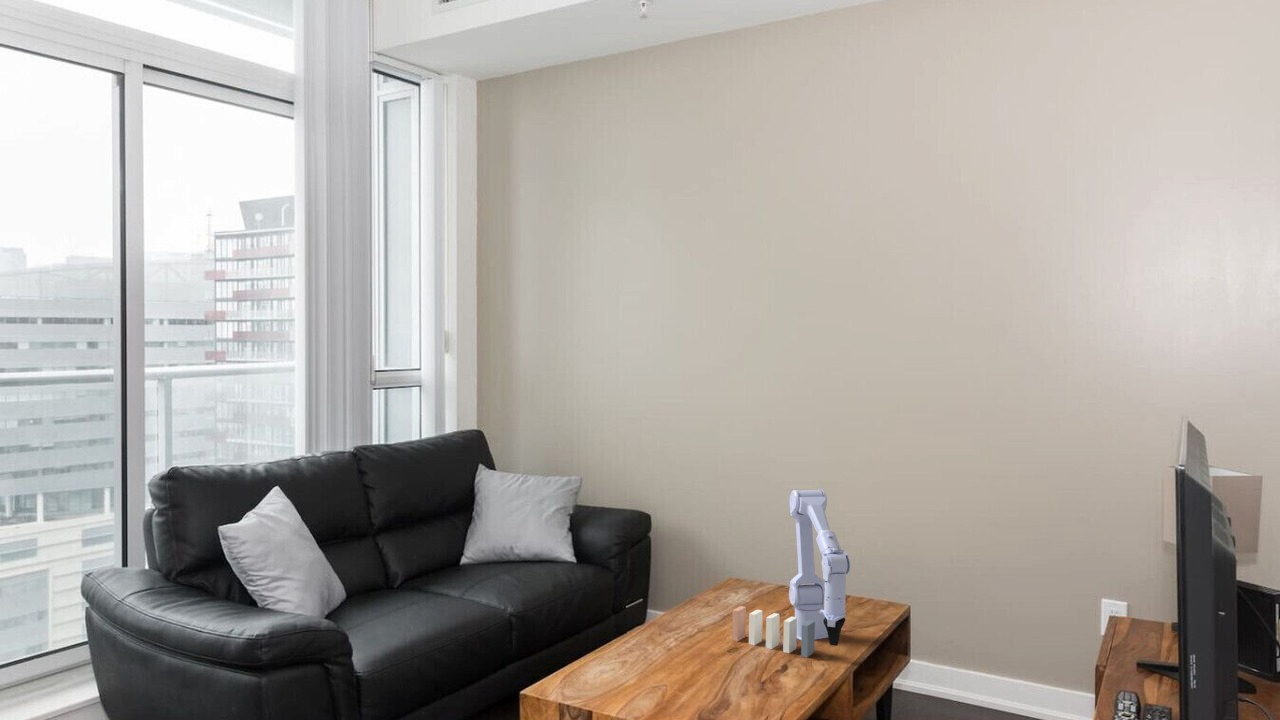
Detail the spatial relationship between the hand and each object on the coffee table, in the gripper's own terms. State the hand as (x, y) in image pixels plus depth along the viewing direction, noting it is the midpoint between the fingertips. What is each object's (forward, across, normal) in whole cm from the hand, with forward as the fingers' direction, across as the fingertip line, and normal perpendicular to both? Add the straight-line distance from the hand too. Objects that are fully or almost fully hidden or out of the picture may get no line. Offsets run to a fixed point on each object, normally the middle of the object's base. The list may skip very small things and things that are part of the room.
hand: (833, 644), depth 259 cm
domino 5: (+4, -2, -8) cm, 9 cm away
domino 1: (+4, -8, -29) cm, 30 cm away
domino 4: (+4, -4, -13) cm, 14 cm away
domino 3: (+4, -5, -18) cm, 19 cm away
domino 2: (+4, -6, -23) cm, 25 cm away
